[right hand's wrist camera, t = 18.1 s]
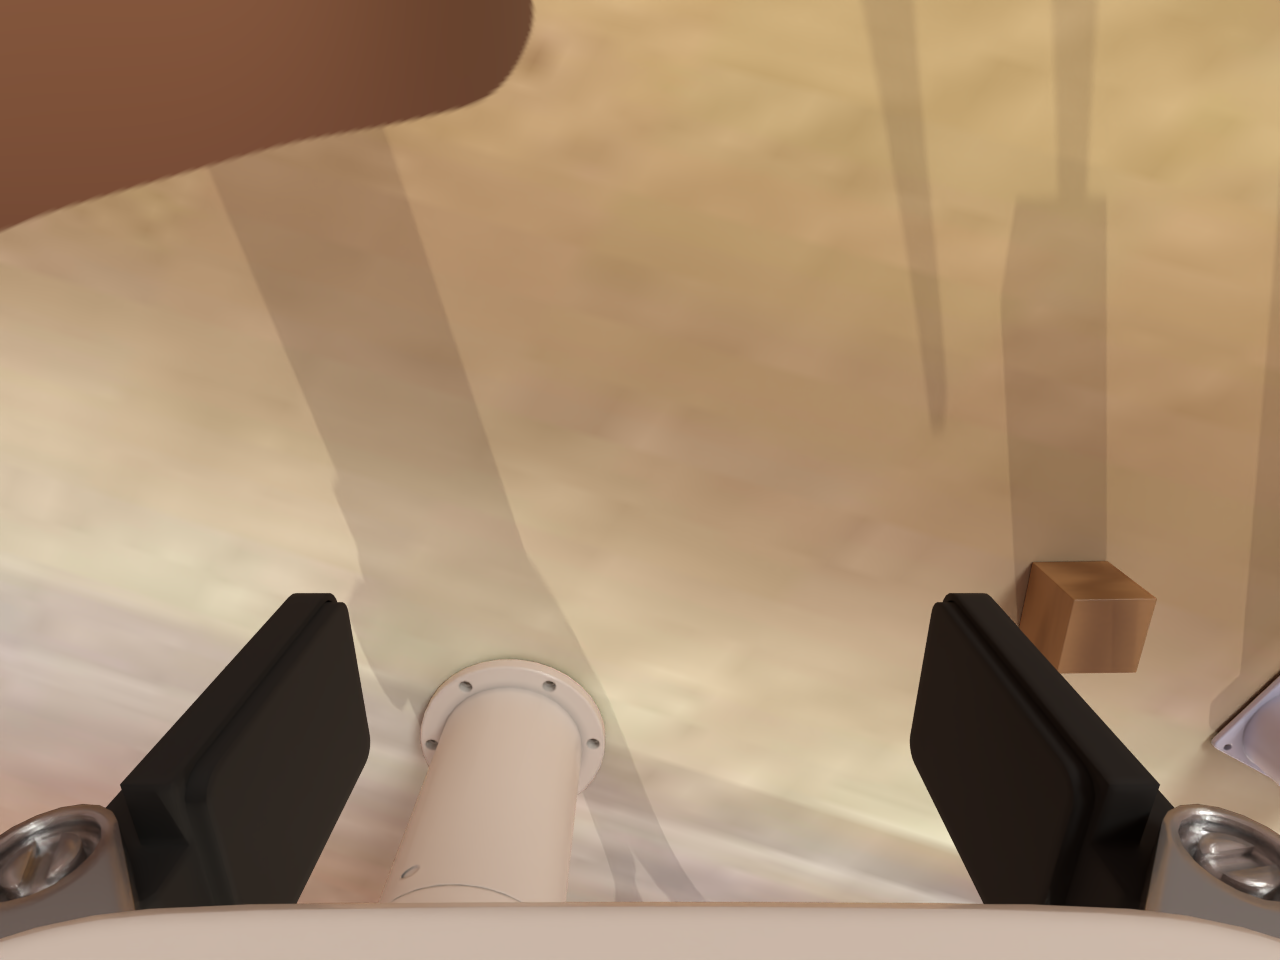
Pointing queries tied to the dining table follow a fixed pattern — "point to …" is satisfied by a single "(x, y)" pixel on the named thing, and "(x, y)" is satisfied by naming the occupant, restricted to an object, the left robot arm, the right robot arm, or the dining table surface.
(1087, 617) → the brown wooden cube
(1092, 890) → the right robot arm
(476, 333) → the dining table surface
